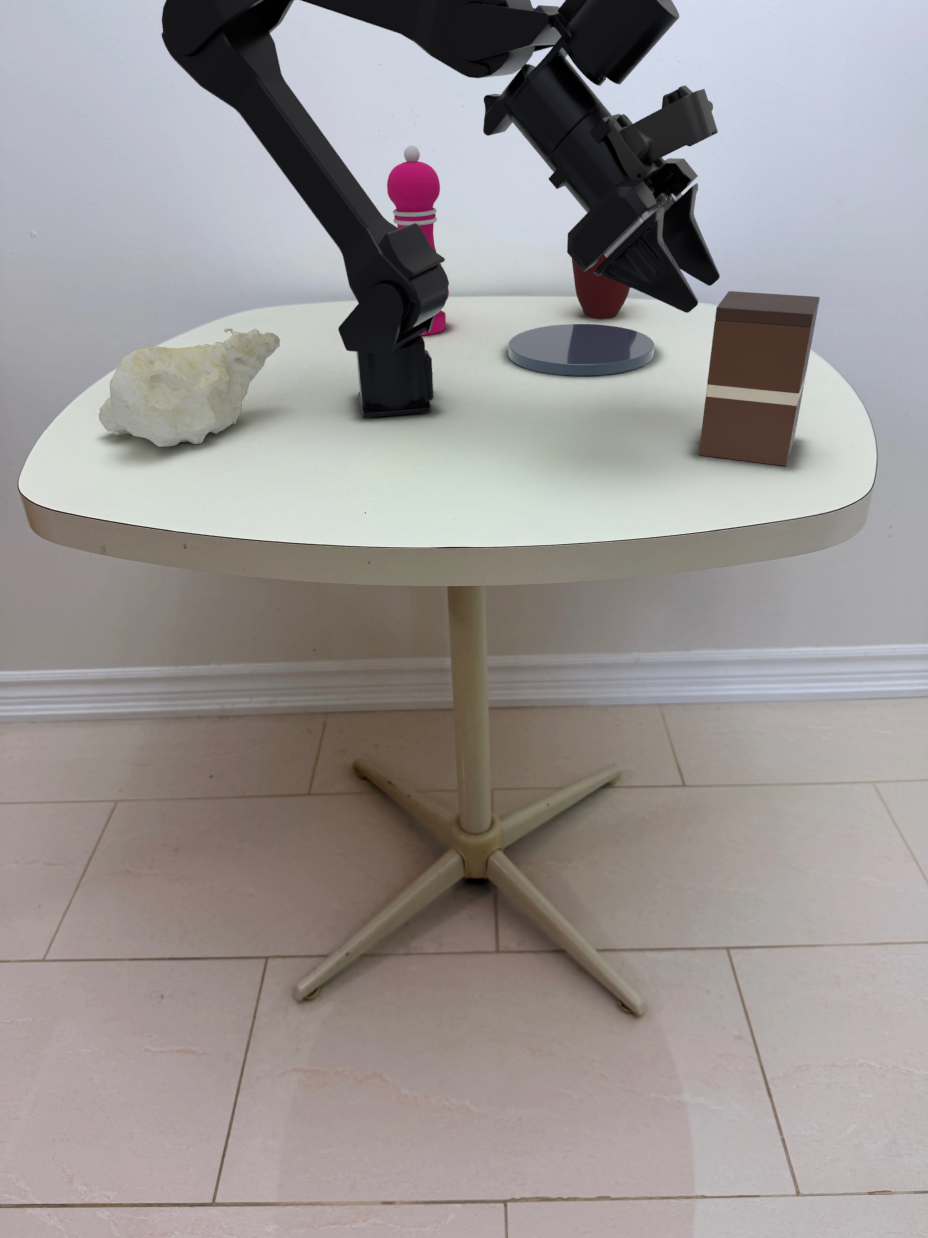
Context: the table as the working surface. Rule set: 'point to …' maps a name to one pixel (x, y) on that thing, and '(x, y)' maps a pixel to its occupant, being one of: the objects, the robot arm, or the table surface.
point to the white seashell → (184, 388)
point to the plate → (581, 349)
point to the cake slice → (757, 376)
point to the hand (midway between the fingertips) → (704, 294)
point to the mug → (598, 292)
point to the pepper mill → (416, 204)
